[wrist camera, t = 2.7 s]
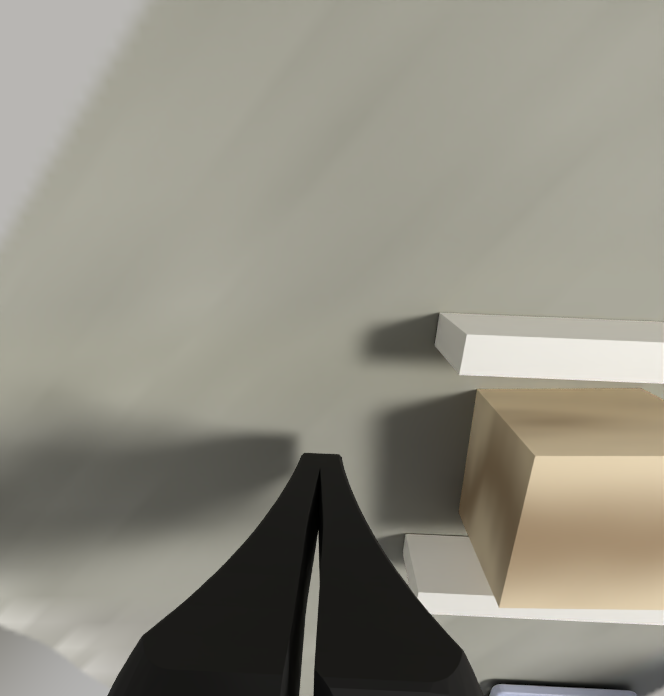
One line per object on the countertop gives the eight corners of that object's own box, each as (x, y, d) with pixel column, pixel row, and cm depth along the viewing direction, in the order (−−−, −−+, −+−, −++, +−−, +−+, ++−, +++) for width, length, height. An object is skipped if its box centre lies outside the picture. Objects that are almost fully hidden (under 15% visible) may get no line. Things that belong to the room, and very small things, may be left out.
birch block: (595, 509, 14) (688, 610, 10) (457, 508, 14) (498, 607, 10) (637, 385, 12) (771, 455, 8) (475, 386, 12) (535, 456, 8)
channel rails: (751, 569, 15) (829, 633, 12) (402, 553, 15) (414, 613, 13) (912, 332, 11) (1070, 359, 9) (439, 312, 11) (467, 334, 9)
